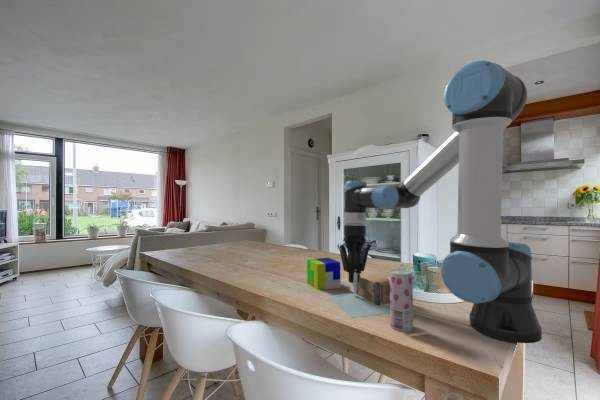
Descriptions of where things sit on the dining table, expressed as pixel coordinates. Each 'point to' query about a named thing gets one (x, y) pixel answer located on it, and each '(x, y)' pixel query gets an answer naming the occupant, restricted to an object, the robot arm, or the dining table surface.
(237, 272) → the dining table surface
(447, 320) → the dining table surface
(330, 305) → the dining table surface
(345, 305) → the card
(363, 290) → the fence panel
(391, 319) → the beverage can
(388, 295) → the fence fixed
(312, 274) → the puzzle toy
